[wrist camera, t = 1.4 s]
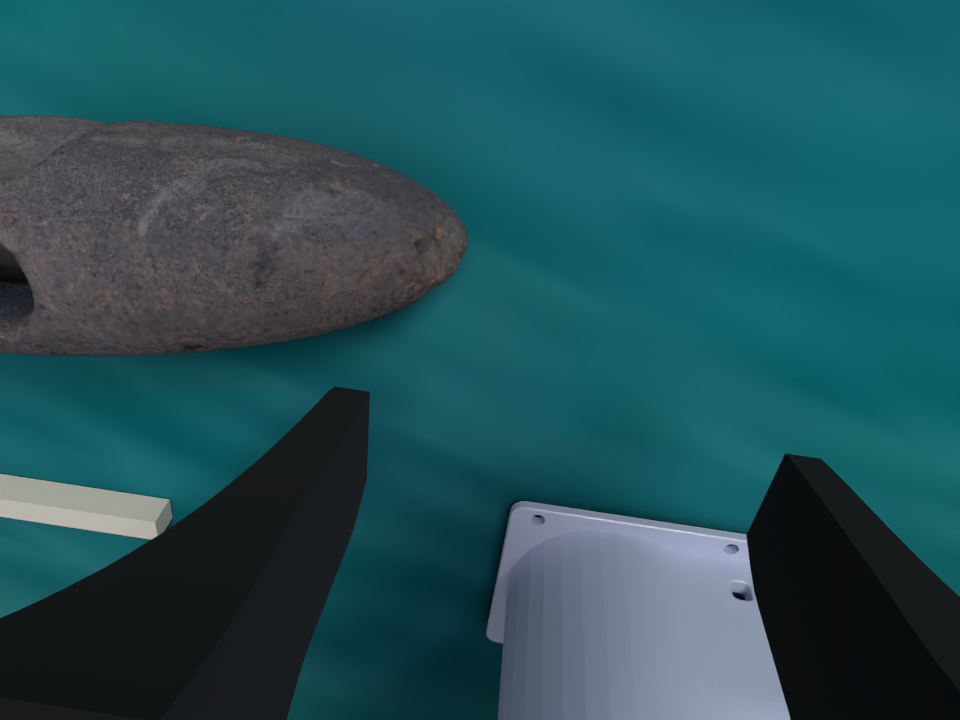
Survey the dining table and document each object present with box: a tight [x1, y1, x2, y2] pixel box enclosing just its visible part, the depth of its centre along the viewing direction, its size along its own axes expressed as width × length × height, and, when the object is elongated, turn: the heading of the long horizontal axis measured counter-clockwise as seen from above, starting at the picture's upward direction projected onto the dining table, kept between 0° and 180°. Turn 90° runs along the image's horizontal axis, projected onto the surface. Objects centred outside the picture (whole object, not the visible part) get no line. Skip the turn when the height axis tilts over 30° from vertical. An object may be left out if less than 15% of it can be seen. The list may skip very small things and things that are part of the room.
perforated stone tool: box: [0, 115, 468, 356], centre depth 18 cm, size 15×5×7 cm, turn 88°
